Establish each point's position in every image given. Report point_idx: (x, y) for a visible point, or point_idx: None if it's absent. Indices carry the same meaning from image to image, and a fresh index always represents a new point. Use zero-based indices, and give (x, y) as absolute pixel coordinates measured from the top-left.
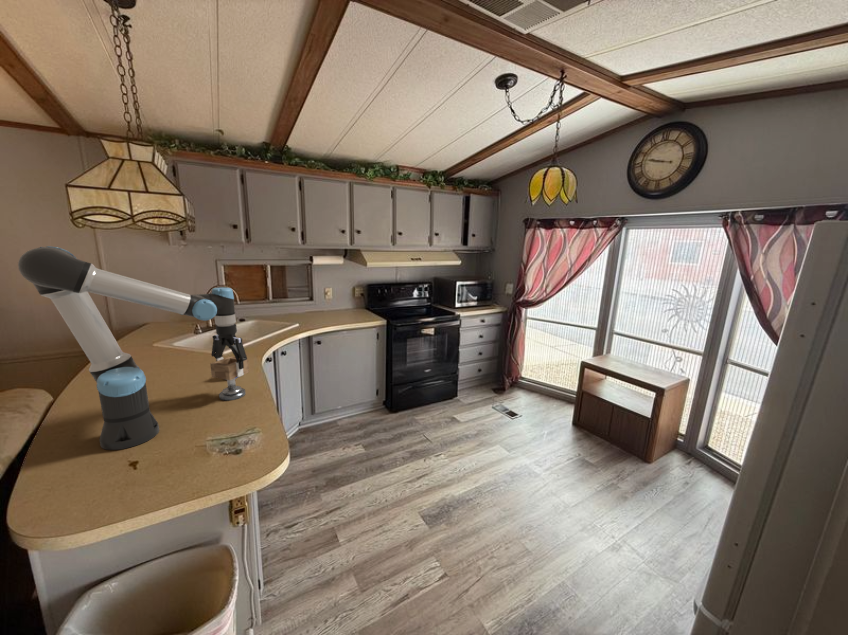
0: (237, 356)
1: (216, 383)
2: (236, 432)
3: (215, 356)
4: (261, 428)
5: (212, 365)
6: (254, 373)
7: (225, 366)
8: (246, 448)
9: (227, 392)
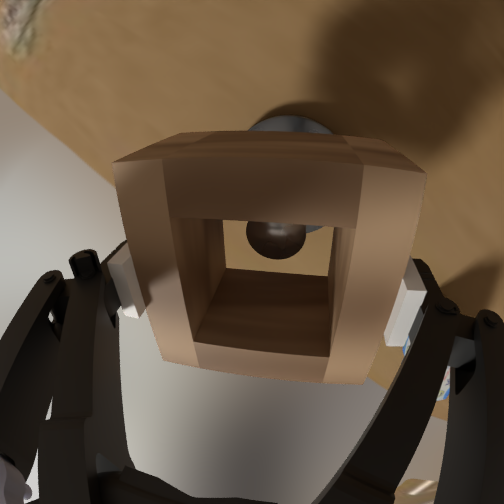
0: (68, 312)
1: (457, 261)
2: (48, 7)
3: (449, 314)
4: (18, 61)
5: (385, 161)
6: None
7: (152, 157)
8: (4, 5)
9: None
